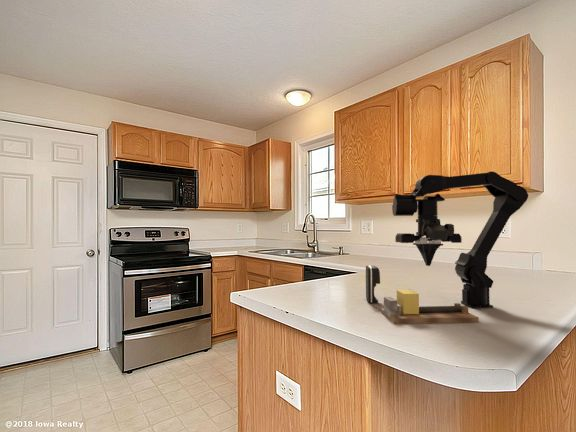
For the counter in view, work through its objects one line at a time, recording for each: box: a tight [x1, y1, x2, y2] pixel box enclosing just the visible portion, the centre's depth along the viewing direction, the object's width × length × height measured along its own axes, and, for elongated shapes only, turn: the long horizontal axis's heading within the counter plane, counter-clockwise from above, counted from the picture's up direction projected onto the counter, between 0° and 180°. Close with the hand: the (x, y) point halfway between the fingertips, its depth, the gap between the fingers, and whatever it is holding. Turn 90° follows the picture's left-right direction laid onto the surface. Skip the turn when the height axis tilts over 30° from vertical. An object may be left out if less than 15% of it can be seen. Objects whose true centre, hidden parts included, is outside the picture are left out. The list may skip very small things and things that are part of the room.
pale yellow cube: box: [396, 289, 420, 314], centre depth 85 cm, size 4×5×5 cm
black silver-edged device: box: [365, 264, 381, 304], centre depth 103 cm, size 7×4×11 cm, turn 174°
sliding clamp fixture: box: [380, 296, 480, 324], centre depth 85 cm, size 22×10×5 cm, turn 93°
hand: (428, 265), depth 99 cm, fingers closed
